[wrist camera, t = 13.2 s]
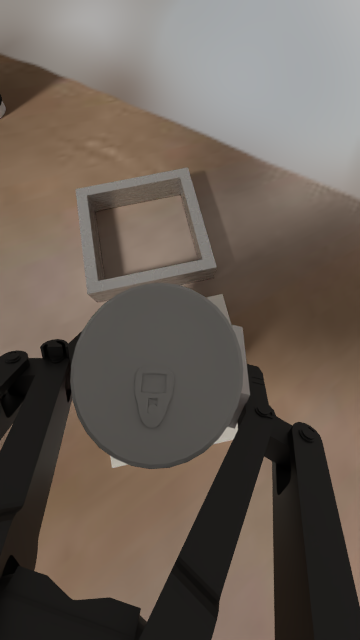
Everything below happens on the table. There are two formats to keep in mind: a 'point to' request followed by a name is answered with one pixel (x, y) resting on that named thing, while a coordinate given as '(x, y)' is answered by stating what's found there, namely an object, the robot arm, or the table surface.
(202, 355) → the canned food
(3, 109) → the dixie cup
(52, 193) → the table surface
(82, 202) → the square frame
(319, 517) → the robot arm
